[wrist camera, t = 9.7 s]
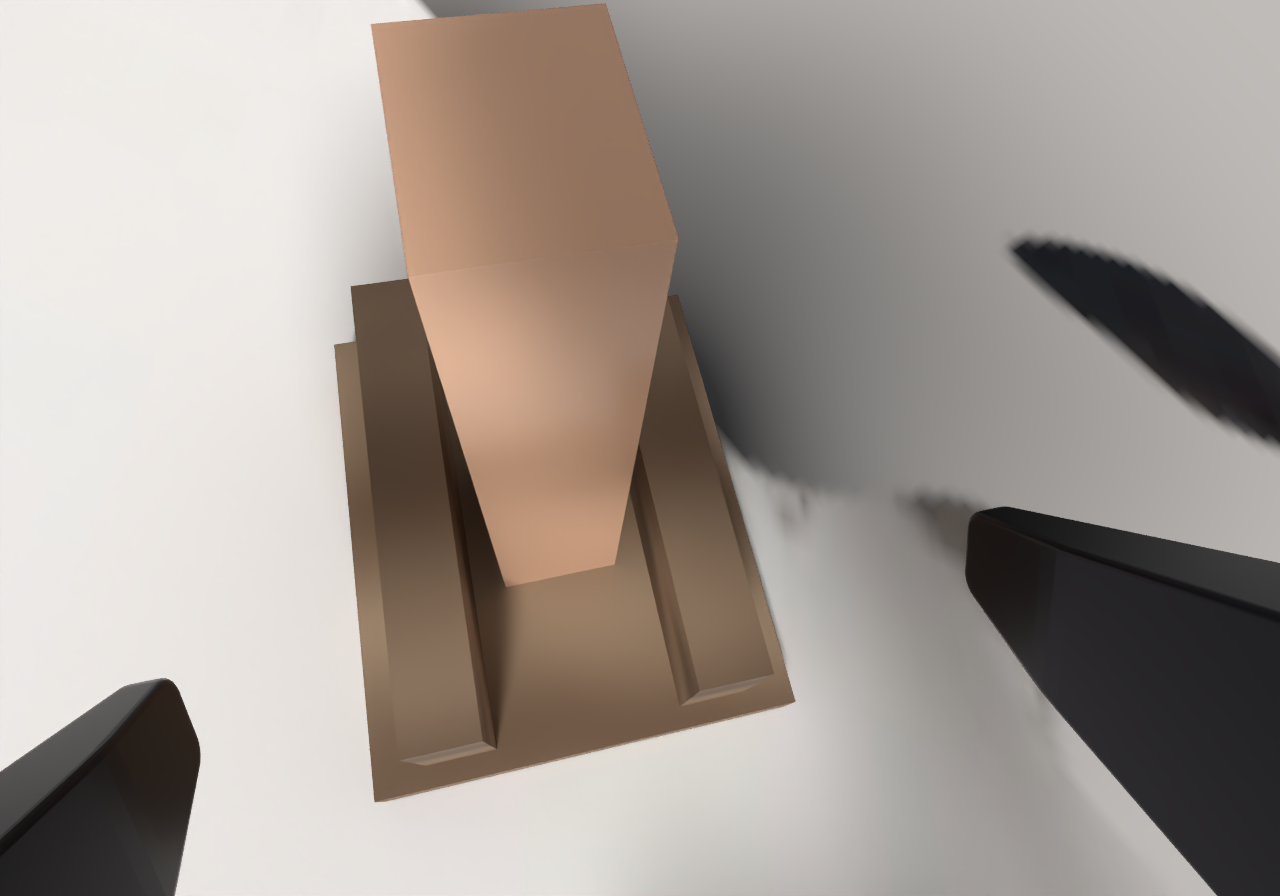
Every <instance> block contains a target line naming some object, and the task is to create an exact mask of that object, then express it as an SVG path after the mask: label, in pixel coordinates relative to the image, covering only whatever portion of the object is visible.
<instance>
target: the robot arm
mask: <svg viewBox="0 0 1280 896" xmlns="http://www.w3.org/2000/svg"><path fill="white" fill-rule="evenodd" d="M965 575H966V581H967V584H968V587H969V589H970V591H971V593H972V595H973V596H974V598H975V599H976V601H977V602H978V603H979V605H980V606H981V608H982V609H983V610H984V612H985V613H986V615H987V616H988V618H989V619H990V620H991V622H992V623H993V625H994V626H995V628H996V629H997V630H998V632H999V633H1000V635H1001V636H1002V637H1003V639H1004V640H1005V642H1006V643H1007V645H1008V646H1009V647H1010V649H1011V650H1012V652H1013V653H1014V654H1015V656H1016V657H1017V659H1018V660H1019V662H1020V663H1021V664H1022V666H1023V667H1024V669H1025V670H1026V672H1027V673H1028V674H1029V676H1030V677H1031V678H1032V680H1033V681H1034V682H1035V684H1036V685H1037V686H1038V688H1039V689H1040V690H1041V692H1042V693H1043V694H1044V695H1045V697H1046V698H1047V699H1048V700H1049V701H1050V703H1051V704H1052V705H1053V706H1054V708H1055V709H1056V710H1057V711H1058V712H1059V713H1060V715H1061V716H1062V717H1063V718H1064V719H1065V720H1066V721H1067V723H1068V724H1069V725H1070V726H1071V727H1072V728H1073V730H1074V731H1075V732H1076V733H1077V734H1078V735H1079V737H1080V738H1081V739H1082V740H1083V741H1084V742H1085V743H1086V745H1087V746H1088V747H1089V748H1090V749H1091V750H1092V751H1093V753H1094V754H1095V755H1096V756H1097V757H1098V758H1099V760H1100V761H1101V762H1102V763H1103V764H1104V765H1105V766H1106V768H1107V769H1108V770H1109V771H1110V772H1111V774H1112V775H1113V776H1114V777H1115V778H1116V779H1117V780H1118V782H1119V783H1120V784H1121V785H1122V786H1123V787H1124V789H1125V790H1126V791H1127V792H1128V793H1129V794H1130V796H1131V797H1132V798H1133V799H1134V800H1135V801H1136V802H1137V804H1138V805H1139V806H1140V807H1141V808H1142V809H1143V811H1144V812H1145V813H1146V814H1147V815H1148V816H1149V817H1150V819H1151V820H1152V821H1153V822H1154V823H1155V824H1156V826H1157V827H1158V828H1159V829H1160V830H1161V831H1162V832H1163V834H1164V835H1165V836H1166V837H1167V838H1168V839H1169V841H1170V842H1171V843H1172V844H1173V845H1174V846H1175V848H1176V849H1177V850H1178V851H1179V852H1180V853H1181V854H1182V856H1183V857H1184V858H1185V859H1186V860H1187V861H1188V863H1189V864H1190V865H1191V866H1192V867H1193V868H1194V870H1195V871H1196V872H1197V873H1198V874H1199V875H1200V876H1201V878H1202V879H1203V880H1204V881H1205V882H1206V883H1207V885H1208V886H1209V887H1210V888H1211V889H1212V890H1213V891H1214V893H1215V894H1216V895H1217V896H1280V563H1277V562H1272V561H1267V560H1263V559H1258V558H1252V557H1248V556H1243V555H1238V554H1234V553H1229V552H1224V551H1219V550H1214V549H1209V548H1205V547H1200V546H1195V545H1190V544H1185V543H1181V542H1176V541H1171V540H1166V539H1161V538H1157V537H1151V536H1147V535H1142V534H1137V533H1132V532H1128V531H1122V530H1118V529H1113V528H1108V527H1103V526H1099V525H1094V524H1089V523H1084V522H1079V521H1074V520H1070V519H1065V518H1060V517H1055V516H1051V515H1045V514H1041V513H1036V512H1031V511H1027V510H1021V509H1017V508H1012V507H998V508H993V509H988V510H983V511H979V512H976V513H975V514H974V515H973V516H972V517H971V518H970V520H969V523H968V533H967V550H966V566H965ZM199 767H200V746H199V741H198V738H197V735H196V733H195V730H194V728H193V725H192V723H191V720H190V718H189V715H188V713H187V710H186V708H185V705H184V702H183V700H182V697H181V695H180V692H179V690H178V688H177V686H176V685H175V684H174V683H173V681H171V680H169V679H166V678H160V679H155V680H150V681H145V682H140V683H135V684H130V685H127V686H124V687H122V688H121V689H119V690H118V691H116V692H115V693H113V694H112V695H110V696H109V697H107V698H106V699H105V700H103V701H102V702H100V703H99V704H97V705H96V706H94V707H93V708H92V709H90V710H89V711H87V712H86V713H84V714H83V715H81V716H80V717H79V718H77V719H76V720H74V721H73V722H71V723H70V724H68V725H67V726H66V727H64V728H63V729H61V730H60V731H58V732H57V733H55V734H54V735H53V736H51V737H50V738H48V739H47V740H45V741H44V742H42V743H41V744H40V745H38V746H37V747H35V748H34V749H32V750H31V751H29V752H28V753H27V754H25V755H24V756H22V757H21V758H19V759H18V760H16V761H15V762H14V763H12V764H11V765H9V766H8V767H6V768H5V769H4V770H2V771H1V772H0V896H175V891H176V887H177V882H178V877H179V872H180V867H181V861H182V856H183V851H184V846H185V840H186V835H187V830H188V825H189V819H190V814H191V809H192V804H193V798H194V793H195V788H196V783H197V777H198V772H199Z"/></svg>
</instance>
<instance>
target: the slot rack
mask: <svg viewBox="0 0 1280 896" xmlns="http://www.w3.org/2000/svg"><path fill="white" fill-rule="evenodd" d="M351 295H352V304H353V314H354V324H355V334H356V342H350V343H343V344H336V345H334V347H335V359H336V370H337V381H338V393H339V404H340V415H341V427H342V438H343V449H344V461H345V472H346V483H347V495H348V506H349V517H350V529H351V540H352V551H353V563H354V574H355V585H356V597H357V608H358V619H359V631H360V642H361V653H362V665H363V676H364V687H365V699H366V710H367V721H368V733H369V744H370V755H371V767H372V778H373V789H374V801H375V802H385V801H390V800H394V799H398V798H403V797H407V796H411V795H415V794H419V793H424V792H428V791H432V790H436V789H440V788H444V787H449V786H453V785H457V784H461V783H465V782H470V781H474V780H478V779H482V778H486V777H491V776H495V775H499V774H503V773H507V772H511V771H516V770H520V769H524V768H528V767H532V766H537V765H541V764H545V763H549V762H553V761H558V760H562V759H566V758H570V757H574V756H578V755H583V754H587V753H591V752H595V751H599V750H604V749H608V748H612V747H616V746H620V745H625V744H629V743H633V742H637V741H641V740H646V739H650V738H654V737H658V736H662V735H666V734H671V733H675V732H679V731H683V730H687V729H692V728H696V727H700V726H704V725H708V724H713V723H717V722H721V721H725V720H729V719H733V718H738V717H742V716H746V715H750V714H754V713H759V712H763V711H767V710H771V709H775V708H780V707H784V706H786V705H789V704H791V703H794V702H795V699H794V695H793V692H792V688H791V685H790V681H789V678H788V674H787V671H786V668H785V664H784V661H783V657H782V654H781V650H780V647H779V643H778V640H777V636H776V633H775V629H774V626H773V623H772V619H771V616H770V612H769V609H768V605H767V602H766V598H765V595H764V591H763V588H762V585H761V581H760V578H759V574H758V571H757V567H756V564H755V560H754V557H753V553H752V550H751V547H750V543H749V540H748V536H747V533H746V529H745V526H744V522H743V519H742V515H741V512H740V509H739V505H738V502H737V498H736V495H735V491H734V488H733V484H732V481H731V477H730V474H729V470H728V467H727V464H726V460H725V457H724V453H723V450H722V446H721V443H720V439H719V436H718V432H717V429H716V426H715V422H714V419H713V416H712V412H711V408H710V405H709V401H708V398H707V394H706V391H705V388H704V384H703V381H702V377H701V374H700V370H699V367H698V363H697V360H696V357H695V353H694V350H693V346H692V343H691V339H690V336H689V332H688V329H687V325H686V322H685V318H684V315H683V311H682V308H681V305H680V301H679V298H678V295H674V296H667V301H666V306H665V311H664V316H663V321H662V326H661V331H660V336H659V341H658V346H657V352H656V357H655V362H654V367H653V372H652V377H651V382H650V387H649V392H648V397H647V403H646V408H645V413H644V418H643V423H642V428H641V433H640V438H639V443H638V448H637V453H636V459H635V464H634V469H633V474H632V479H631V484H630V489H629V494H628V499H627V504H626V509H625V515H624V520H623V525H622V530H621V535H620V540H619V545H618V550H617V555H616V560H615V564H614V565H610V566H605V567H600V568H595V569H590V570H586V571H581V572H576V573H571V574H567V575H562V576H557V577H552V578H547V579H543V580H538V581H533V582H528V583H524V584H519V585H514V586H509V587H506V586H505V583H504V580H503V576H502V573H501V570H500V567H499V564H498V561H497V557H496V554H495V551H494V548H493V545H492V542H491V538H490V535H489V532H488V529H487V526H486V523H485V519H484V516H483V513H482V510H481V507H480V504H479V500H478V497H477V494H476V491H475V488H474V485H473V481H472V478H471V475H470V472H469V469H468V466H467V462H466V459H465V456H464V453H463V450H462V447H461V443H460V440H459V437H458V434H457V431H456V428H455V424H454V421H453V418H452V415H451V412H450V409H449V405H448V402H447V399H446V396H445V393H444V390H443V386H442V383H441V380H440V377H439V374H438V370H437V367H436V364H435V361H434V358H433V355H432V351H431V348H430V345H429V342H428V339H427V336H426V332H425V329H424V326H423V323H422V320H421V317H420V313H419V310H418V307H417V304H416V301H415V298H414V294H413V291H412V288H411V285H410V282H409V279H403V280H395V281H388V282H381V283H373V284H366V285H358V286H351Z"/></svg>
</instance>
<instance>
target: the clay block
mask: <svg viewBox="0 0 1280 896" xmlns="http://www.w3.org/2000/svg"><path fill="white" fill-rule="evenodd" d="M371 28H372V35H373V42H374V48H375V55H376V62H377V69H378V76H379V83H380V89H381V96H382V103H383V110H384V117H385V124H386V130H387V137H388V144H389V151H390V158H391V165H392V172H393V178H394V185H395V192H396V199H397V206H398V213H399V219H400V226H401V233H402V240H403V247H404V254H405V260H406V267H407V274H408V279H409V282H410V285H411V288H412V291H413V294H414V298H415V301H416V304H417V307H418V310H419V313H420V317H421V320H422V323H423V326H424V329H425V332H426V336H427V339H428V342H429V345H430V348H431V351H432V355H433V358H434V361H435V364H436V367H437V370H438V374H439V377H440V380H441V383H442V386H443V390H444V393H445V396H446V399H447V402H448V405H449V409H450V412H451V415H452V418H453V421H454V424H455V428H456V431H457V434H458V437H459V440H460V443H461V447H462V450H463V453H464V456H465V459H466V462H467V466H468V469H469V472H470V475H471V478H472V481H473V485H474V488H475V491H476V494H477V497H478V500H479V504H480V507H481V510H482V513H483V516H484V519H485V523H486V526H487V529H488V532H489V535H490V538H491V542H492V545H493V548H494V551H495V554H496V557H497V561H498V564H499V567H500V570H501V573H502V576H503V580H504V583H505V586H506V587H509V586H514V585H519V584H524V583H528V582H533V581H538V580H543V579H547V578H552V577H557V576H562V575H567V574H571V573H576V572H581V571H586V570H590V569H595V568H600V567H605V566H610V565H614V564H615V560H616V555H617V550H618V545H619V540H620V535H621V530H622V525H623V520H624V515H625V509H626V504H627V499H628V494H629V489H630V484H631V479H632V474H633V469H634V464H635V459H636V453H637V448H638V443H639V438H640V433H641V428H642V423H643V418H644V413H645V408H646V403H647V397H648V392H649V387H650V382H651V377H652V372H653V367H654V362H655V357H656V352H657V346H658V341H659V336H660V331H661V326H662V321H663V316H664V311H665V306H666V301H667V296H668V290H669V285H670V280H671V275H672V270H673V265H674V260H675V255H676V250H677V245H678V239H679V238H678V234H677V231H676V228H675V225H674V222H673V219H672V215H671V212H670V209H669V206H668V202H667V199H666V196H665V193H664V189H663V186H662V183H661V180H660V177H659V173H658V170H657V167H656V164H655V160H654V157H653V154H652V151H651V148H650V144H649V141H648V138H647V135H646V132H645V128H644V125H643V122H642V119H641V115H640V113H639V109H638V106H637V103H636V99H635V96H634V93H633V90H632V87H631V83H630V80H629V77H628V74H627V70H626V67H625V64H624V61H623V58H622V55H621V51H620V48H619V45H618V42H617V38H616V35H615V32H614V29H613V25H612V22H611V19H610V16H609V13H608V9H607V6H606V4H594V5H583V6H573V7H560V8H549V9H539V10H527V11H515V12H503V13H492V14H482V15H469V16H458V17H446V18H435V19H424V20H412V21H401V22H390V23H378V24H371Z"/></svg>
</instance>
